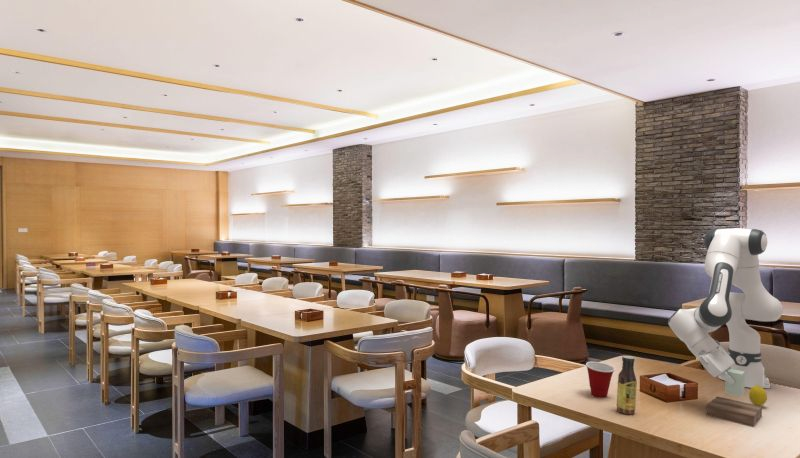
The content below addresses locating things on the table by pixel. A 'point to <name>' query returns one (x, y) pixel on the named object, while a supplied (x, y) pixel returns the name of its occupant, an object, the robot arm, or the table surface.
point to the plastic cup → (599, 378)
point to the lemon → (757, 395)
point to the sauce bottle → (627, 387)
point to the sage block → (739, 383)
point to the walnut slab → (734, 411)
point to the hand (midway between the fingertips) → (735, 381)
